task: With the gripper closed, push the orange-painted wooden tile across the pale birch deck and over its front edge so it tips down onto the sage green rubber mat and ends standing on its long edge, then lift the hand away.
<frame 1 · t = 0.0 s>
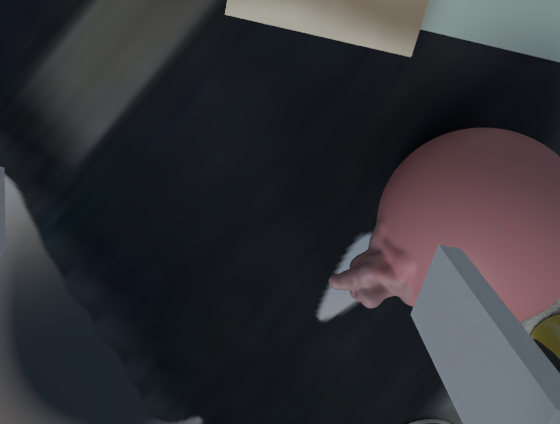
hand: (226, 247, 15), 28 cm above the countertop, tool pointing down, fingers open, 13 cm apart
plant pot: (557, 335, 53), on the countertop
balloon: (417, 195, 45), on the countertop
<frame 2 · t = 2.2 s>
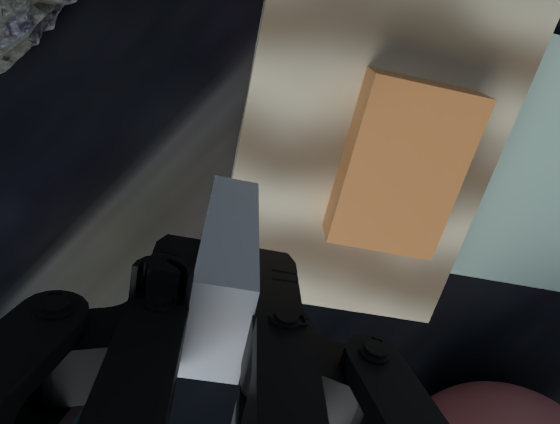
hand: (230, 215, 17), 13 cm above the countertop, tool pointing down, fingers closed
deck: (355, 135, 30), on the countertop
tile: (396, 162, 26), point 4 cm above the countertop, touching deck
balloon: (430, 414, 40), on the countertop
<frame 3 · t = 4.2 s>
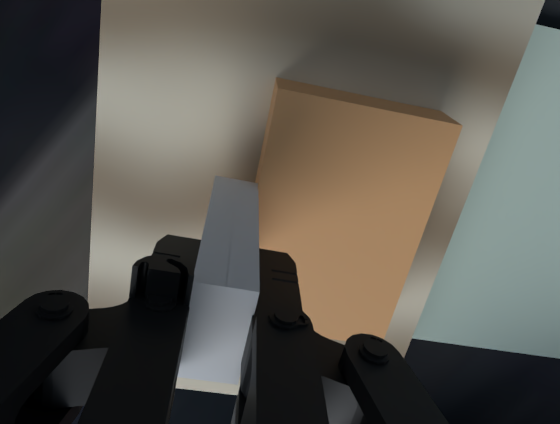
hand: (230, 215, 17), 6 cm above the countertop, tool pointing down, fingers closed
deck: (278, 166, 22), on the countertop
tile: (328, 210, 19), point 4 cm above the countertop, touching deck, gripper
mat: (556, 215, 24), on the countertop
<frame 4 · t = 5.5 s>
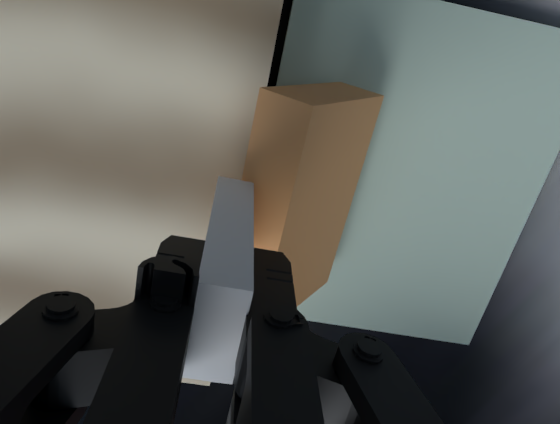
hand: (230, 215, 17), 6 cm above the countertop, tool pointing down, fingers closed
deck: (93, 128, 21), on the countertop
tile: (279, 194, 20), point 3 cm above the countertop, tilted 56°, touching gripper, mat
mat: (396, 185, 23), on the countertop
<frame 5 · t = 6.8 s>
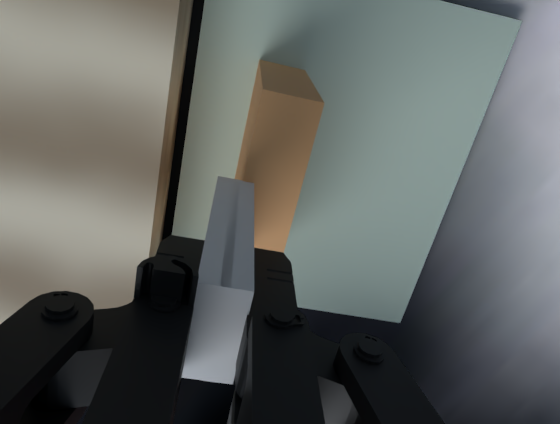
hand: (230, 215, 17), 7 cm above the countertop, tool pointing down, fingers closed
deck: (16, 104, 21), on the countertop
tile: (237, 183, 20), point 4 cm above the countertop, tilted 91°, touching gripper, mat
mat: (322, 163, 23), on the countertop
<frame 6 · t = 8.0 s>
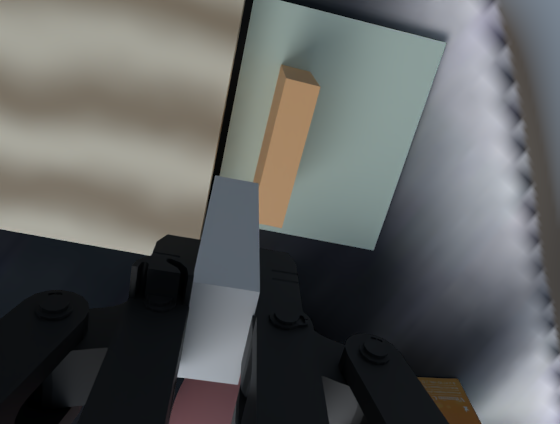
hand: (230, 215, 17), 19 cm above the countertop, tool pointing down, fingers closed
small box: (408, 398, 46), on the countertop
deck: (123, 91, 33), on the countertop
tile: (266, 140, 31), point 4 cm above the countertop, tilted 90°, touching mat
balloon: (245, 365, 43), on the countertop
mat: (320, 134, 35), on the countertop
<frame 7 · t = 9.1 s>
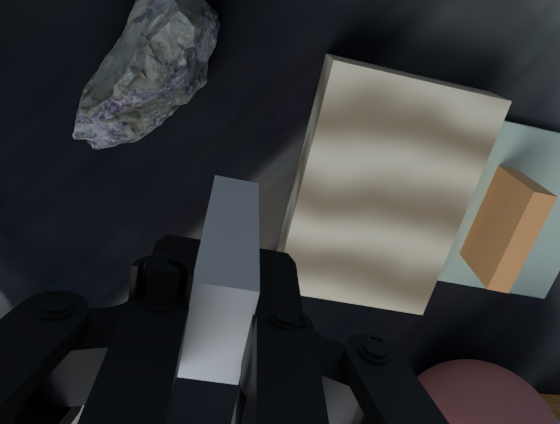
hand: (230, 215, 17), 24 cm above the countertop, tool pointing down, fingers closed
small box: (550, 411, 56), on the countertop
deck: (372, 185, 43), on the countertop
mineral rock: (148, 58, 38), on the countertop
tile: (492, 226, 41), point 4 cm above the countertop, tilted 90°, touching mat
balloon: (424, 386, 54), on the countertop
mat: (515, 213, 45), on the countertop
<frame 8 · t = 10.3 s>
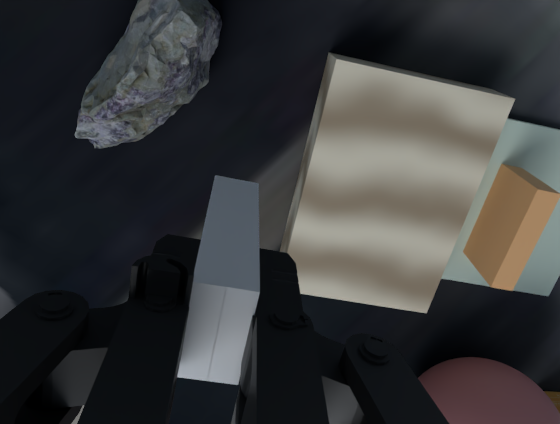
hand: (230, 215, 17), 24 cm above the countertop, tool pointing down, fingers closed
small box: (554, 408, 56), on the countertop
deck: (376, 184, 43), on the countertop
mineral rock: (150, 58, 38), on the countertop
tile: (496, 223, 41), point 4 cm above the countertop, tilted 90°, touching mat
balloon: (428, 385, 54), on the countertop
mat: (519, 211, 45), on the countertop
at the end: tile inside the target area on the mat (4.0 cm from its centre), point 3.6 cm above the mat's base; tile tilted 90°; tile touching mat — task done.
